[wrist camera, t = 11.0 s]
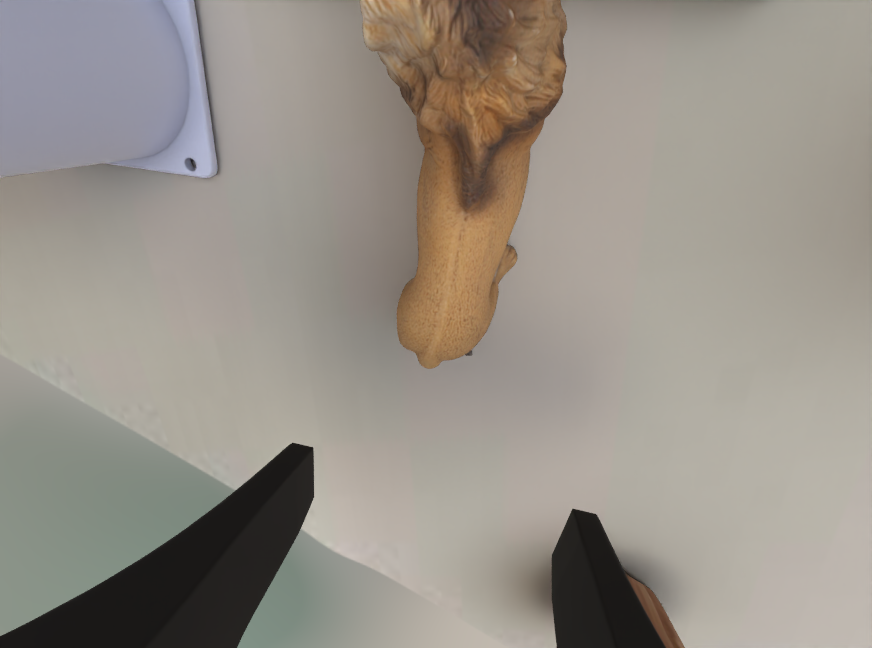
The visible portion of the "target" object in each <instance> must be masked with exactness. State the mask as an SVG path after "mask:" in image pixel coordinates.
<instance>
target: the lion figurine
mask: <svg viewBox="0 0 872 648" xmlns="http://www.w3.org/2000/svg"><path fill="white" fill-rule="evenodd" d="M360 7H361V13H362V15H363V27H362V29H363V35H364V42H365V45H366V47H368V48H369V49H370V50H371V51H377V52H378V55H379V57H380V59H381V61H382V62H383V63H384V64H385V65H386V67H387V71H388V75H389V76H390V78H391V79H392V80H393V81H394V82H395V83H396V84H397V85H398V86H399V87H400V91H401V94H402V97H403V98H404V100H405V101H406V103H407V104H408V105H409V107H410V108H411V110H412V112H413V113H414V114H415V116H416V118H417V130H418V134H419V137H420V140H421V142H422V144H423V145H424V147H425V153H424V157H423V162H422V167H421V172H420V177H419V182H418V192H417V232H418V250H419V259H418V268H417V272H416V276H415V278H413V279H411V280H410V281H409V282H408V283H407V284H406V285H405V287H404V289H403V291H402V294H401V296H400V299H399V302H398V307H397V331H398V337H399V341H400V343H401V344H402V345H403V347H405V348H406V349H408V350H411V351H413V352H415V353H416V355H417V358H418V361H419V363H420V364H421V365H422V366H423V367H425V368H428V369H432V368H435V367H436V366H438V365H439V364H440V363H441V361H443V360H453V359H456V358H459V357H461V356H463V355H466V356H472V351H471V350H472V349H473V348H474V347H475V346H476V344H477V343H478V342H479V341H480V340H481V338H482V337H483V336H484V334H485V333H486V331H487V329H488V327H489V325H490V322H491V320H492V317H493V315H494V311H495V308H496V304H497V298H498V284H499V281H500V280H501V278H502V277H503V276H504V275H505V274H506V273H507V272H508V271H509V270H510V269H511V268H512V267H513V266H514V264H515V263H516V260H517V253H516V251H515V249H514V248H513V247H512V246H510V245H507V243H508V240H509V237H510V234H511V232H512V229H513V227H514V224H515V222H516V220H517V217H518V215H519V211H520V208H521V205H522V201H523V198H524V193H525V188H526V183H527V178H528V171H529V160H530V148H531V145H532V144H533V143H534V142H535V140H536V139H537V137H538V135H539V134H540V132H541V130H542V127H543V124H544V119H545V118H546V117H547V116H548V115H549V114H550V112H551V111H552V109H553V108H554V107H555V106H556V104H557V103H558V101H559V99H560V97H561V95H562V93H563V87H562V85H563V81H564V77H565V73H566V67H567V66H566V62H565V58H564V54H563V53H564V45H563V38H564V35H565V33H566V30H567V22H566V15H565V13H564V11H563V9H562V7H561V1H560V0H360Z"/></svg>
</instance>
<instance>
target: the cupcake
mask: <svg viewBox="0 0 872 648" xmlns="http://www.w3.org/2000/svg"><path fill="white" fill-rule="evenodd" d="M625 574H626V573H625ZM626 575H627V574H626ZM627 577H628V579H629V581H630V583H631V585H632V587H633V589H634V591H635V593H636V594H637V596H638V598H639V600H640V602H641V604H642V606H643V607H644V609H645V611H646V613H647V615H648V617H649V618H650V620H651V622H652V624H653V626H654V627H655V629H656V631H657V633H658V634H659V636H660V638H661V639H662V641H663V643H664V645H665V646H666V648H685V647H684V645H683V643H682V642H681V640H680V638H679V636H678V634H677V632H676V631H675V629H674V627H673V625H672V623H671V621H670V620H669V618H668V616H667V614H666V612H665V610H664V608H663V607H662V605H661V603H660V602H659V600H658V599H657V597H656V596H655V594H654V593H653V592H652V591H651V590H650V589H649V588H648V587H646V586H645V585H644V584H642V583H640V582H638V581H637V580H635V579H633V578H631V577H630V576H628V575H627Z"/></svg>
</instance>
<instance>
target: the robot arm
mask: <svg viewBox="0 0 872 648" xmlns="http://www.w3.org/2000/svg"><path fill="white" fill-rule="evenodd" d="M191 159H193V160H194V161H195V163H196V169H195V168H194V167H193V166H192V164H191ZM101 163H105V164H112V165H119V166H126V167H132V168H139V169H146V170H152V171H159V172H166V173H173V174H179V175H186V176H193V177H200V178H210V177H213V176H214V175H216V173H217V170H218V166H217V159H216V151H215V144H214V137H213V130H212V123H211V116H210V109H209V102H208V94H207V87H206V80H205V73H204V66H203V59H202V52H201V45H200V37H199V30H198V23H197V16H196V9H195V2H194V0H0V178H2V177H9V176H16V175H23V174H30V173H37V172H44V171H52V170H59V169H66V168H73V167H80V166H87V165H94V164H101ZM313 498H314V456H313V447H309V446H304V445H300V444H296V443H292V444H290V445H288V446H287V447H286V448H285V449H284V450H283V451H282V452H281V453H279V454H278V455H277V456H276V457H275V458H274V459H273V460H271V461H270V462H269V463H268V464H267V465H266V466H265V467H263V468H262V469H261V470H260V471H259V472H258V473H256V474H255V475H254V476H253V477H252V478H250V479H249V480H248V481H247V482H246V483H244V484H243V485H242V486H241V487H239V488H238V489H237V490H236V491H235V492H233V493H232V494H231V495H230V496H228V497H227V498H226V499H225V500H223V501H222V502H221V503H220V504H218V505H217V506H216V507H214V508H213V509H212V510H210V511H209V512H208V513H206V514H205V515H204V516H202V517H201V518H200V519H198V520H197V521H195V522H194V523H193V524H191V525H190V526H189V527H188V528H186V529H185V530H183V531H182V532H181V533H179V534H178V535H176V536H175V537H173V538H172V539H170V540H169V541H167V542H166V543H164V544H163V545H161V546H160V547H158V548H157V549H155V550H154V551H152V552H151V553H149V554H148V555H146V556H145V557H143V558H142V559H140V560H138V561H137V562H135V563H133V564H132V565H130V566H128V567H127V568H125V569H123V570H122V571H120V572H118V573H117V574H115V575H114V576H112V577H110V578H109V579H107V580H105V581H104V582H102V583H100V584H99V585H97V586H95V587H93V588H91V589H90V590H88V591H86V592H84V593H83V594H81V595H79V596H77V597H75V598H73V599H71V600H69V601H68V602H66V603H64V604H62V605H60V606H58V607H56V608H55V609H53V610H51V611H49V612H47V613H45V614H43V615H42V616H40V617H38V618H36V619H34V620H32V621H30V622H29V623H26V624H25V625H22V626H20V627H18V628H16V629H14V630H12V631H10V632H8V633H6V634H4V635H2V636H0V648H237V646H238V644H239V642H240V640H241V637H242V635H243V634H244V632H245V630H246V628H247V626H248V624H249V622H250V620H251V618H252V616H253V614H254V612H255V610H256V609H257V607H258V605H259V603H260V602H261V600H262V598H263V596H264V595H265V593H266V591H267V589H268V587H269V586H270V584H271V582H272V580H273V579H274V577H275V575H276V573H277V571H278V569H279V568H280V566H281V564H282V562H283V560H284V559H285V557H286V555H287V553H288V552H289V550H290V548H291V546H292V544H293V543H294V540H295V539H296V537H297V535H298V533H299V531H300V529H301V527H302V524H303V522H304V520H305V517H306V515H307V513H308V510H309V508H310V505H311V503H312V501H313ZM552 604H553V614H554V624H555V634H556V643H557V648H666V646H665V645H664V643H663V641H662V639H661V638H660V636H659V634H658V633H657V631H656V629H655V627H654V626H653V624H652V622H651V620H650V618H649V617H648V615H647V613H646V611H645V609H644V607H643V606H642V604H641V602H640V600H639V598H638V596H637V594H636V593H635V591H634V589H633V587H632V585H631V583H630V581H629V579H628V577H627V575H626V574H625V572H624V570H623V568H622V566H621V564H620V562H619V560H618V558H617V555H616V553H615V551H614V549H613V547H612V545H611V543H610V541H609V539H608V537H607V535H606V533H605V530H604V528H603V526H602V524H601V522H600V520H599V518H598V516H597V515H596V514H593V513H589V512H584V511H580V510H576V509H572V511H571V514H570V516H569V518H568V520H567V523H566V525H565V527H564V529H563V532H562V534H561V536H560V538H559V541H558V543H557V545H556V547H555V550H554V552H553V554H552Z"/></svg>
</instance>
